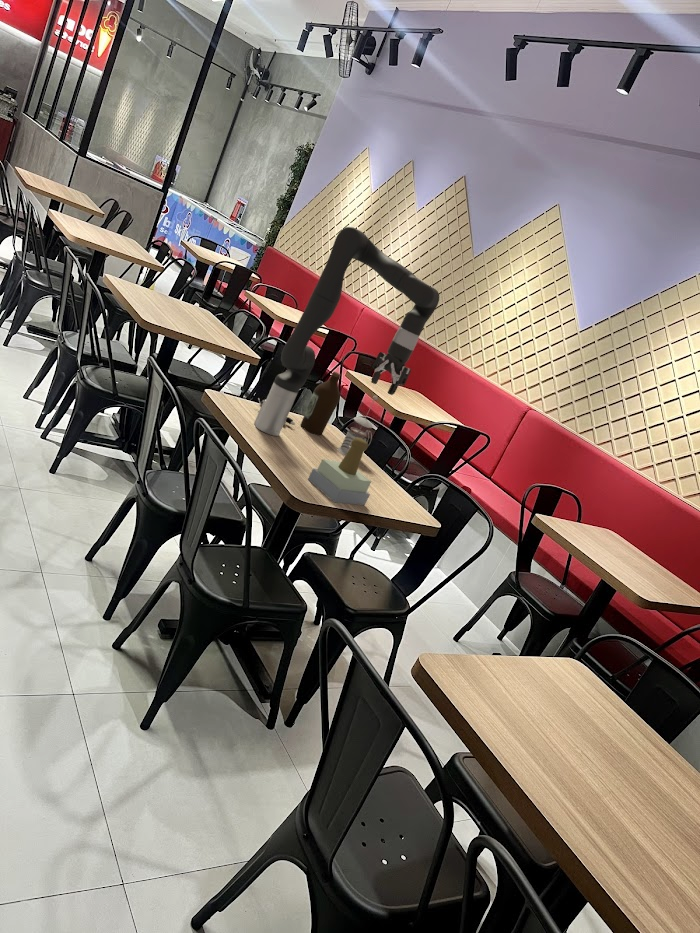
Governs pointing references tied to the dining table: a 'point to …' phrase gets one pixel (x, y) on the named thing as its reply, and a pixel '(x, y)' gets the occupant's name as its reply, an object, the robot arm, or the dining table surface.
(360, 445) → the olive pepper mill
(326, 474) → the green and grey box
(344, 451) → the french press
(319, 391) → the olive oil
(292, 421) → the robot toy
